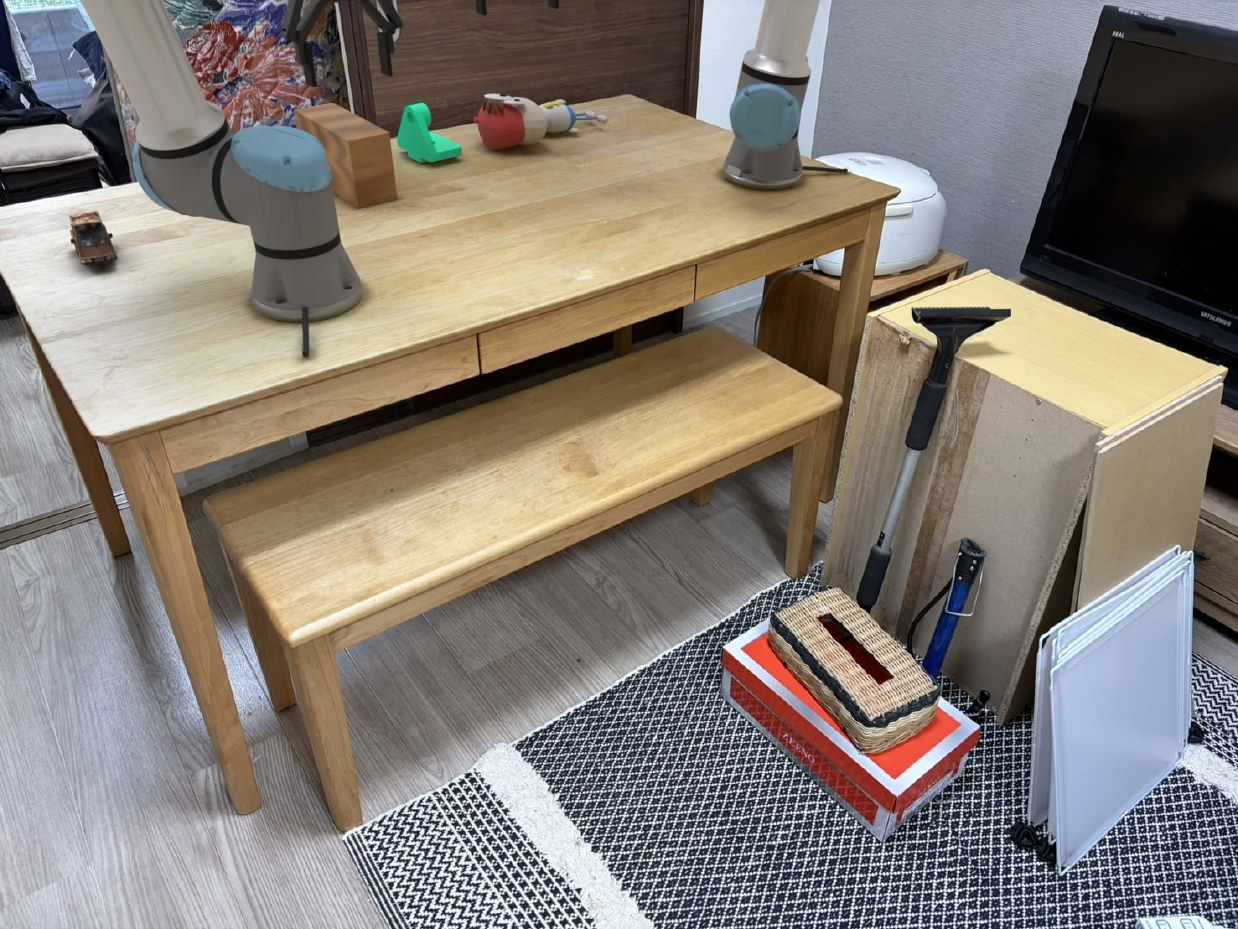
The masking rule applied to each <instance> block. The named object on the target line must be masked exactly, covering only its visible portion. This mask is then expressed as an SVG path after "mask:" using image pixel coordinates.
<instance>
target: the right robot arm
mask: <svg viewBox="0 0 1238 929" xmlns="http://www.w3.org/2000/svg"><path fill="white" fill-rule="evenodd" d="M820 2H821V0H764V4H763V9H762V13H761V18H760V22H759V26H758V32H757V36H756V41H755V45H754V48H752V49H749V50H747V51H746V52H745V53H744V56H743V59H742V63H741V67H740V72H739V76H738V82H737V86H736V92H735V96H734V99H733V101H732V103H731V105H730V109H729V120H730V121H729V122H730V127H731V130H732V132H733V135H734V136H735V137H734V139H733V141H732V144H731V146H730V148H729V151H728V153H727V155H726V158H725V160H724V162H723V170H722V175H723V178H725V180H727V181H728V182H729V183H731V184H733V185H736V186H739V187H742V188H746V189H752V190H759V191H778V190H786V189H790V188H794V187H796V186H797V185H799V184H800V183H801V182H802V180H803V179H802V178H803V172H804V171H808V172H809V171H811V172H822V173H823V172H824V173H835V174H845V173H848V171H849V169H848V168H847V167H845V168H834V167H825V166H824V167H823V166H810V165H803V163H802V158H801V152H800V146H799V138H798V137H799V130H800V124H801V119H802V109H803V107H804V102H805V98H806V94H807V91H808V86H809V82H810V78H811V74H812V69H811V67H810V65H809V58H808V56H807V54H808V49H809V46H810V41H811V37H812V33H813V29H814V26H815V21H816V18H817V13H818V9H819V5H820ZM547 6H548V7H550V8H552V9H556V10H557V9H560V0H547ZM487 8H488V7H487V0H475V11H476V12H475V13H476V14H479V15H481V16H487V14H488V11H487V10H488V9H487Z"/></svg>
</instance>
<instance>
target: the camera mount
mask: <svg viewBox="0 0 1238 929" xmlns="http://www.w3.org/2000/svg"><path fill="white" fill-rule="evenodd" d="M431 123H432V114H431V111H430V109H429V107H428V106H427V104H425V103H424V102H419V103H414V104H409V105H406V106H405V107H404V110H403V114H402V117H401V121H400V125H399V129H398V133H397V137H396V143H397V147H398V148H400V149H402V150H404V151H406V152H407V156H408V158H410V159H412V160H413V161H416V162H418V163H420V164H424V163H427V162H428V163H435V162H438V161H439V162H440V161H443V160H447V159H452V158H456V157H459V156H461V155H463V153H462V151H463V150H462V145H461V144H458V143H457V142H454V141H452V140H449V139H447V138H445V137H443V136H441V135H439V134H437V133H434V132H431V131H430V130H429V128H428V127H429V126H430V125H431Z"/></svg>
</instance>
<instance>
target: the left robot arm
mask: <svg viewBox="0 0 1238 929" xmlns="http://www.w3.org/2000/svg"><path fill="white" fill-rule="evenodd" d="M304 1H305V0H288V1H287V6H286V9H285V13H284V17H283V20H282V24H281V28H280V32H279V34H280V37H281V38H283V39H285V40H287V41H289V42H292V43H293V46H294V52H295V58H296V63H298V65H301V66H302V67H303V75H304V80H305V85H307V86H309V87H311V88H318V81H317V75H316V69H315V61H314V56H313V55H314V54H313V48H312V44H311V43H310V42H308V41H307V40H308V38H309V35H310V34H311V33H312V30H313V28H314V26H315V25H316V23H317V21H318V20H319V18H320V15H321V14H322V12H323V11H324V9H325V8H326V7H327V6H328V4H329V2H331V3H333V4H337V3H340V2H347V3H348V2H352V0H310V1H309V3H308V5H307V7H306V8H305V11H304V12H303V14H302V16H301V13H302V10H303V6H304ZM376 1H377V3H378V5H379V7H380V8H381V10H382V12H383V13H384V15H383V14H382V12H380V11H379V9H378V8H377V7H376V6H375V4H373V2H372V1H371V0H354V2H356V3H357V4H358V6H359V7H360V8H361V9H362V10H363V11H364V13H365V14H367V16H368V17H369V18H370V19H371V20H372V22H374V23H375V25H376V26H377V27H378V28H379V29H380V30H381V31H376V38H377V49H378V56H379V66H380V73H381V74H382V75H383V76H386V77H393V75H394V74H393V64H392V56H391V55H393V54H394V53H395V44H394V43H395V41H394V35H395V34H396V32H397V30H398V29H401V28H403V27H404V23H403V21H402V19H401V17H400V15H399V13H398V11H397V9H396V8H395V6H394V4H393V1H392V0H376ZM80 3H81V4H82V6H83V8H84V10H85V12H86V14H87V16H88V18H89V20H90V22H91V24H92V26H93V28H94V30H95V32H96V34H97V37H98V39H99V40H100V42H101V45H102V46H103V48H104V50H105V52H106V54H107V56H108V58H109V60H110V62H111V64H112V66H113V68H114V71H115V72H116V75H117V77H118V78H119V80H120V82H121V84H122V86H123V88H124V90H125V92H126V94H127V97H128V98H129V100H130V102H131V104H132V106H133V108H134V111H135V112H136V114H137V116H138V118H139V122H138V123H137V125H136V128H135V131H134V137H135V139H136V140H135V143H134V146H133V151H132V155H133V156H135V161H133V162H132V165H133V171H134V174H135V178H136V180H137V183H138V184H139V186H140V188H141V189H142V191H143V192H144V193H145V195H146V196H147V197H148V198H149V199H150V200H151V201H152V202H153V203H154V204H156V205H158V206H159V207H161V208H163V209H165V210H167V211H170V212H174V213H177V214H180V215H182V216H188V217H192V218H205V219H209V220H216V221H222V222H227V223H233V224H237V225H243V226H248V227H249V229H250V234H251V237H252V238H251V239H252V242H253V247H254V251H255V258H254V264H253V273H252V283H251V289H250V294H251V299H252V303H253V307H254V309H255V310H256V311H257V313H259V314H260V315H262V316H264V317H266V318H268V319H271V320H275V321H281V322H289V323H301V325H302V354H301V355H302V357H303V358H308V357H309V356H310V326H309V323H310V322H314V321H315V322H316V321H320V320H326V319H330V318H332V317H336V316H338V315H341V314H343V313H345V312H348V311H349V310H351V309H353V308H354V307H355V306H356V305H357V304H358V303H359V302H360V301H361V298H362V297H363V287H362V282H361V278H360V276H359V274H358V272H357V270H356V268H355V266H354V264H353V263H352V261H351V259H350V257H349V255H348V253H347V251H346V250H345V248H344V245H343V243H342V239H341V233H340V225H339V220H338V214H337V207H336V200H335V196H334V195H335V193H334V192H333V187H332V180H331V179H332V174H331V170H330V167H329V165H328V161H327V157H326V152H325V149H324V148H323V146H322V144H321V142H320V141H319V140H318V139H317V138H315V137H314V136H313V135H311V134H309V133H307V132H305V131H302V130H299V129H297V127H296V128H295V127H292V126H288V125H280V124H279V125H273V126H270V125H267V124H263V125H262V124H261V125H253V126H247V127H245V128H243V129H240V130H238V131H237V132H236V133H233V131H232V129H231V126H230V124H229V122H228V120H227V117H226V115H225V112H224V110H223V109H222V107H220V106H219V105H217V104H216V103H214V102H211V101H209V100H206V98H205V95H204V93H203V91H202V88H201V86H200V84H199V82H198V79H197V77H196V74H195V71H194V70H193V68H192V65H191V63H190V60H189V58H188V55H187V54H186V52H185V48H184V47H183V44H182V42H181V40H180V38H179V35H178V33H177V31H176V30H177V29H176V28H175V25H174V23H173V21H172V19H171V16H170V13H169V11H168V9H167V6H166V5H165V3H164V0H80Z"/></svg>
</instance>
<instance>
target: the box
mask: <svg viewBox="0 0 1238 929" xmlns="http://www.w3.org/2000/svg"><path fill="white" fill-rule="evenodd" d="M293 114H294V119H295V123H296V124H295V126H296V129H299V130H302V131H305V132H307V133H309V134H311V135H313V136H314V137H315V138H317V139H318V140H319V141H320V142H321V144H322V146H323V148H324V149H325V152H326V157H327V161H328V165H329V167H330V170H331V174H332V179H331V180H332V187H333V194H335V195H337V196H338V197H340V198H341V199H343V200H345V201H346V202H348V203H349V204H350V205H353V206H354V207H355V208H357V209H363V208H365V207H370V206H373V205H378V204H382V203H386V202H389V201H395V200H398V191H397V182H396V176H395V168H394V159H393V158H394V157H393V150H392V143H391V135H390V132H389V131H387V130H385V129H383V128H382V127H379V126H378V125H376V124H374V123H373V122H371V121H369V120H367V119H365V118H363V117H361V116H359V115H357V114H355V113H354V112H351V111H349V110H348V109H345V108H344V107H342V106H340V105H338V104H336V103H334V102H330V103H324V104H323V103H322V104H318V105H311V106H307V107H301V108H295V109H293Z"/></svg>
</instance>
